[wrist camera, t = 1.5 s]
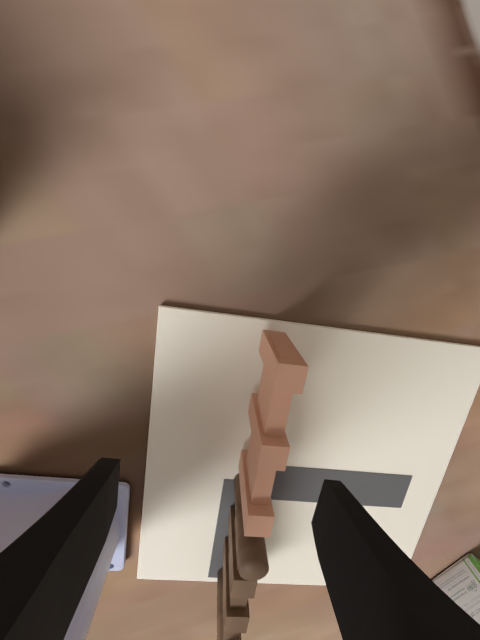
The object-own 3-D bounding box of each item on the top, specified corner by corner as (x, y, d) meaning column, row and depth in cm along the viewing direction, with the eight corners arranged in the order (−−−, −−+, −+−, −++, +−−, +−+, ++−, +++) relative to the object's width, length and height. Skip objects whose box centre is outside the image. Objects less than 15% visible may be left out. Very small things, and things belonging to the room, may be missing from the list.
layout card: (138, 573, 24) (136, 579, 23) (160, 304, 18) (158, 306, 18) (396, 582, 26) (399, 588, 26) (488, 347, 20) (494, 349, 20)
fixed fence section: (216, 579, 24) (215, 688, 18) (235, 470, 21) (241, 557, 15) (236, 580, 24) (241, 688, 18) (257, 472, 21) (271, 559, 16)
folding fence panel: (258, 469, 21) (269, 539, 16) (238, 467, 21) (243, 537, 16) (285, 330, 18) (309, 364, 13) (262, 327, 18) (278, 361, 13)
